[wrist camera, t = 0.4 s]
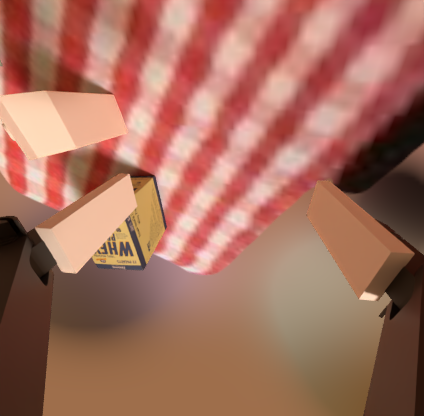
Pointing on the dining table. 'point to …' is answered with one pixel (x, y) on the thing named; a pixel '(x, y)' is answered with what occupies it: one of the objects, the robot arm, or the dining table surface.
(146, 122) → the dining table surface
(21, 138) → the milk carton
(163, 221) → the protein box
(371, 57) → the dining table surface
